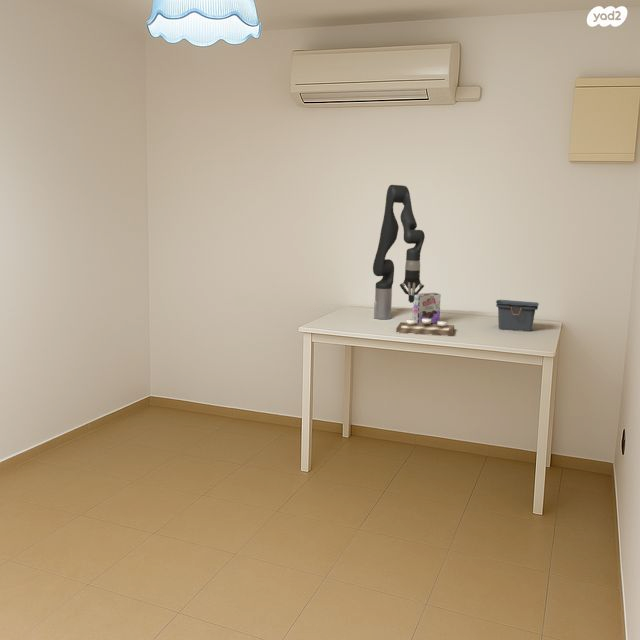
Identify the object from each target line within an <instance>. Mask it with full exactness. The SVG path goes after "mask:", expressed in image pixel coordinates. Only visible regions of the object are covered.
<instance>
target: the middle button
mask: <svg viewBox="0 0 640 640" xmlns="http://www.w3.org/2000/svg"><path fill="white" fill-rule="evenodd" d="M422 323H424V324H430V323H431V319H429V318H423V319H422Z"/></svg>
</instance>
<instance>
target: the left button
mask: <svg viewBox="0 0 640 640" xmlns="http://www.w3.org/2000/svg"><path fill="white" fill-rule="evenodd" d="M405 323H406V324H407V325H415V324H416V320H413V318H411V319H406V321H405Z"/></svg>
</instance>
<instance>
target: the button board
mask: <svg viewBox="0 0 640 640" xmlns="http://www.w3.org/2000/svg"><path fill="white" fill-rule="evenodd" d="M396 332H399V333H398V334H408V333H417V334H416V335H425V334H432V335H431V336H442V335H448V336H447V337H453V336H454V333H455V325H453V324H447V326H445V327H441V326H437V323H435V324H422V323H416V324H415V325H407V324H406V322H400V323H399V324H398V325H397V326H396V331H395V333H396Z"/></svg>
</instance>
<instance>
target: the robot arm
mask: <svg viewBox="0 0 640 640" xmlns="http://www.w3.org/2000/svg"><path fill="white" fill-rule="evenodd" d="M395 203H396V204H402V205H403V208H402V210H401V213H400V217H399V218H400V222H401V224H402V225H401V226H402V228H403V241H404V242H405V243H406V244H409V245H414V246H413V247H411V248H410V247H409V248H407V249H406V253H405V254H406V256H405V267H404V269H405V270H404V280H403V282H402V283H400V284H399V287H400V288H401V289H402V291H403V292H404V294H405V295H408V302H409V303H411V304H412V303H413V302H414V296H415V295H417V294H418V293H420V292H421V291H422V290H423V288H424V287H425V284H423V283H421V280H420V279H421V252H422V249H423V244H424V242H425V238H426V237H425V233H424V231H423V230H422V229H417V227H418V225H417V221H416V218H415V215H414V212H413V207H412V201H411V193H410V190H409V188H408V186H406V185H400V184H399V185H398V184H390V185H388V187H387V191H386V198H385V206H384V214H383V220H382V224H381V229H380V233H379V234H380V235H379V239H378V240H379V241H378V246H377V250H376V254H375V257H374V260H373V264H372V272H373V274H374V276H375V277H382V278H381V279H380V280H379V281H376V283H375V287H374V288H375V290H374V291H375V296H374V304H373V305H374V307H373V319H376V318H377V319H376V320H390V319H391V318H392V297H393V294H392V293H393V284H394V276H395V263H394V262H393V260H392V259H386V256H387V254H388V252H389V250H390V249H391V248H392V247H393V245H395V242H396V240H397V239H398V238H397V237H398V233H399V223H398V221H397V218H396V215H395V213H394V205H395ZM418 287H419V288H418ZM417 288H418V289H417ZM416 289H417V290H416Z"/></svg>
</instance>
